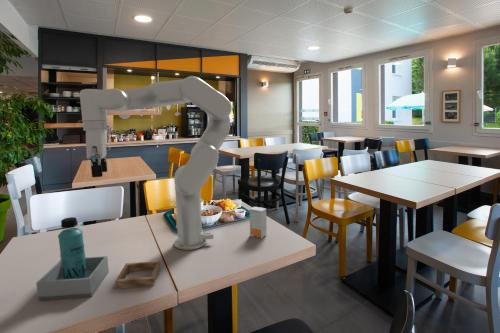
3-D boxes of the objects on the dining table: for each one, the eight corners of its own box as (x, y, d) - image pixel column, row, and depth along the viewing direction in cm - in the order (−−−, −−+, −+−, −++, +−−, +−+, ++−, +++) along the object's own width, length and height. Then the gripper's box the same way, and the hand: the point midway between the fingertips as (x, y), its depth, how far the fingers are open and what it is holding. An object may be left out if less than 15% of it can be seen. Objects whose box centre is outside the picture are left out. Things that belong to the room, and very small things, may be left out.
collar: (160, 267, 101) (160, 261, 101) (153, 285, 90) (153, 278, 90) (126, 270, 100) (126, 263, 100) (115, 288, 89) (115, 281, 89)
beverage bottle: (58, 286, 88) (49, 221, 85) (77, 275, 95) (69, 214, 92) (75, 289, 86) (67, 223, 83) (93, 278, 93) (86, 215, 90)
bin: (108, 271, 99) (107, 256, 98) (91, 297, 85) (89, 278, 84) (63, 274, 97) (61, 258, 96) (38, 301, 84) (36, 282, 83)
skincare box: (249, 236, 127) (249, 208, 125) (254, 232, 131) (254, 206, 129) (261, 238, 124) (261, 211, 122) (266, 235, 127) (266, 208, 125)
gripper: (89, 125, 111) (93, 170, 114) (76, 127, 95) (82, 179, 98) (111, 125, 113) (114, 169, 116) (102, 126, 97) (107, 178, 100)
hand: (100, 174), depth 107 cm, fingers open, 9 cm apart
